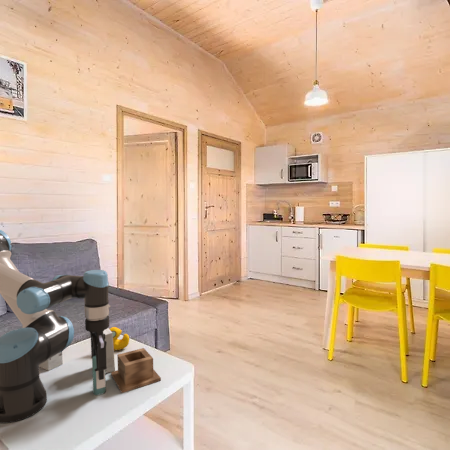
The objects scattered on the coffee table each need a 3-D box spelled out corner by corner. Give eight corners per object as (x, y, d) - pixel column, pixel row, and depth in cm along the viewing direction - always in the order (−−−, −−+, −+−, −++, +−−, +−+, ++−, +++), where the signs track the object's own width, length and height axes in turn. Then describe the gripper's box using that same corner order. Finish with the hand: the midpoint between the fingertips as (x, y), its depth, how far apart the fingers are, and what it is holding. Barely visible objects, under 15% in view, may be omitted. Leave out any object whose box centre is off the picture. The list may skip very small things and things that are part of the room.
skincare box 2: (115, 371, 124) (114, 333, 123) (98, 375, 121) (97, 336, 120) (109, 362, 131) (108, 326, 130) (93, 366, 128) (92, 329, 127)
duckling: (101, 354, 138) (100, 331, 137) (102, 348, 143) (102, 326, 143) (129, 350, 141) (128, 328, 140) (129, 345, 146) (129, 323, 146)
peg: (94, 396, 108) (93, 361, 107) (92, 390, 112) (90, 356, 111) (107, 392, 110) (106, 358, 109) (104, 386, 114) (103, 353, 113)
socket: (121, 393, 110) (121, 370, 109) (111, 374, 122) (110, 353, 121) (160, 380, 118) (160, 359, 117) (147, 364, 129) (146, 344, 129)
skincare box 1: (48, 371, 124) (47, 352, 124) (39, 367, 127) (38, 348, 127) (63, 364, 130) (62, 346, 129) (53, 360, 133) (53, 343, 132)
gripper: (115, 322, 104) (117, 392, 106) (102, 307, 118) (104, 370, 120) (90, 327, 100) (92, 400, 102) (80, 311, 114) (82, 376, 116)
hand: (99, 384), depth 111 cm, fingers closed on peg, 4 cm apart
